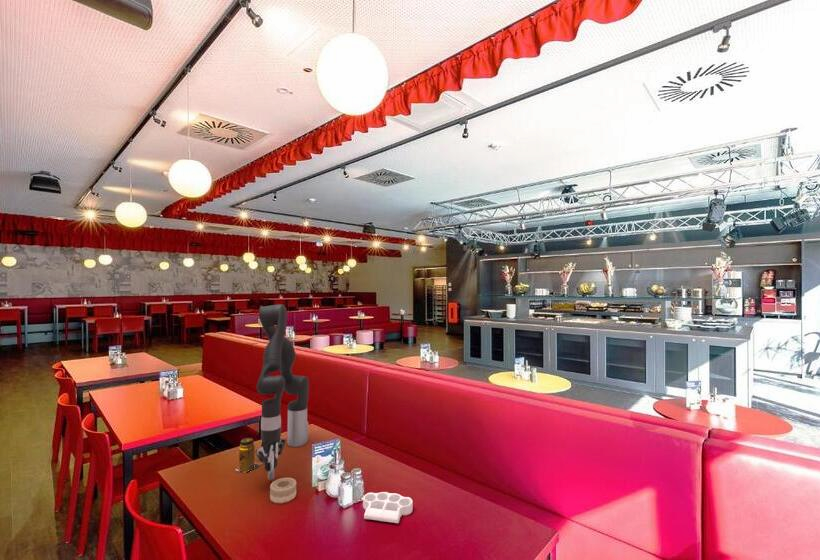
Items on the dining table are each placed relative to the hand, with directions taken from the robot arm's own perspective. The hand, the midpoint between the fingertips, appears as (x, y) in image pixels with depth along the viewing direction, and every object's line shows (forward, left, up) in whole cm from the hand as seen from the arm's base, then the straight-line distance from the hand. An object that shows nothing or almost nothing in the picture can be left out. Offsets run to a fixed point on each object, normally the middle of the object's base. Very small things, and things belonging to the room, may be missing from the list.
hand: (270, 469), depth 149 cm
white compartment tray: (-8, +50, -6) cm, 51 cm away
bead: (+4, +12, -5) cm, 14 cm away
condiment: (-4, -18, -6) cm, 19 cm away
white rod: (0, 0, -4) cm, 4 cm away
